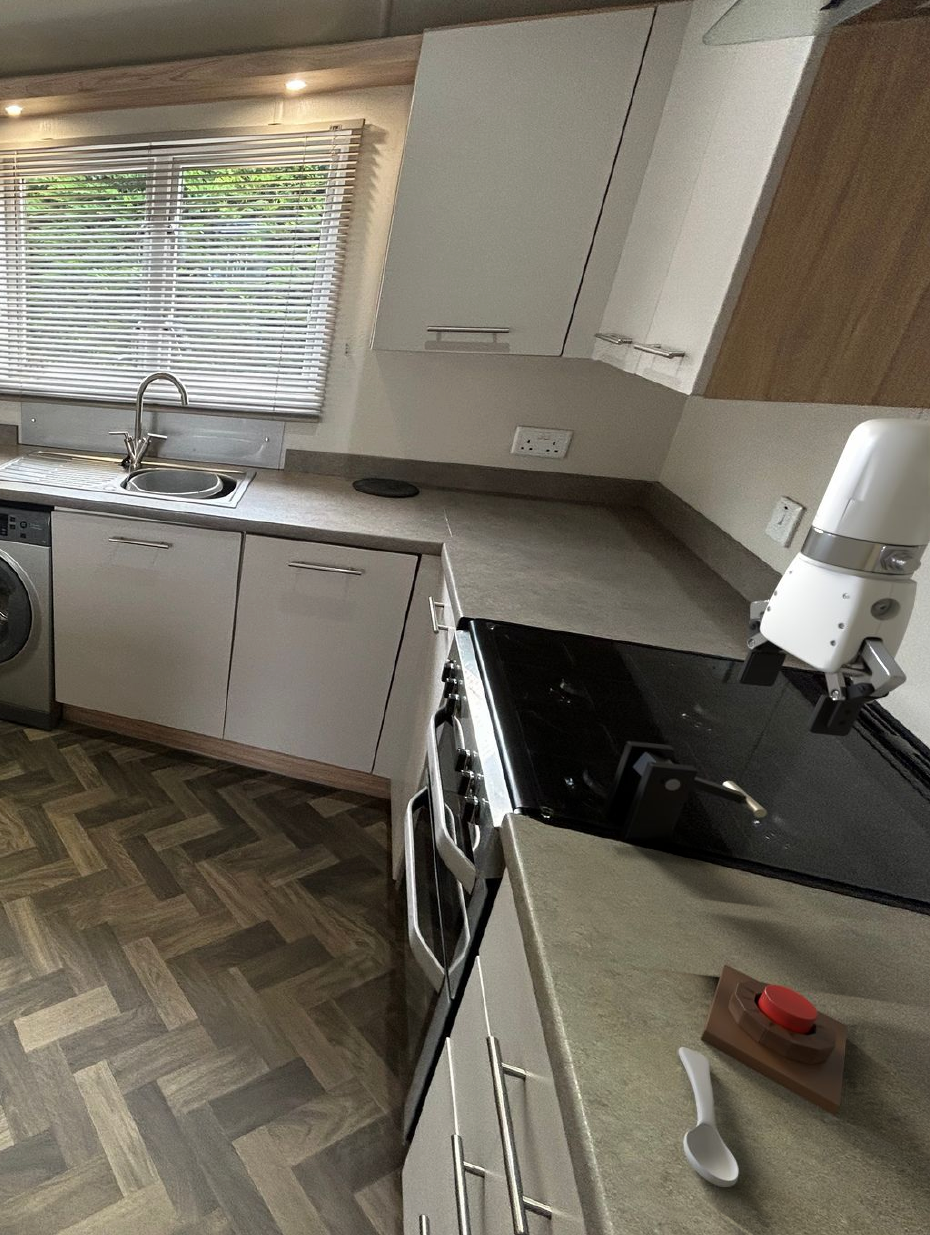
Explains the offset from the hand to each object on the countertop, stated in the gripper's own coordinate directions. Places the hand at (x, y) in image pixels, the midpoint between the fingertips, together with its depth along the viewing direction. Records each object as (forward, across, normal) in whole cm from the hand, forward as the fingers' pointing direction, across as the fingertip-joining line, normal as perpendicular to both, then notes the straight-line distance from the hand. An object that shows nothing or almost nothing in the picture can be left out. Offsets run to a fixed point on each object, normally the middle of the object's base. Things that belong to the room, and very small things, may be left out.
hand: (787, 707), depth 73 cm
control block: (+20, -24, +10) cm, 33 cm away
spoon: (+20, -32, +20) cm, 43 cm away
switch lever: (+12, +1, +4) cm, 13 cm away
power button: (+17, -24, +10) cm, 31 cm away
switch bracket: (+20, +1, +8) cm, 22 cm away
